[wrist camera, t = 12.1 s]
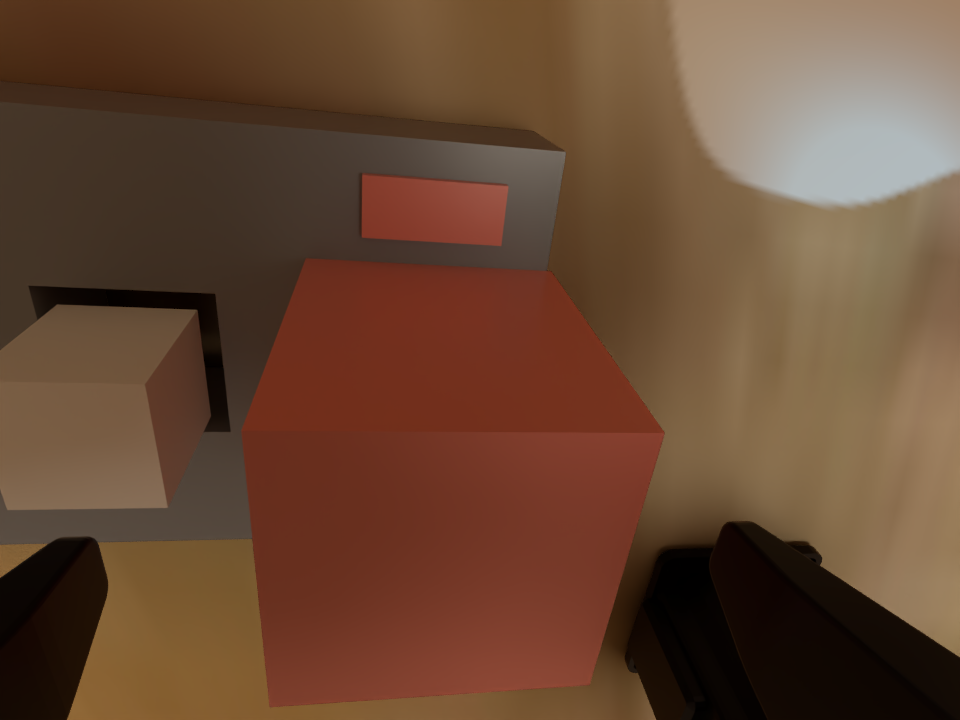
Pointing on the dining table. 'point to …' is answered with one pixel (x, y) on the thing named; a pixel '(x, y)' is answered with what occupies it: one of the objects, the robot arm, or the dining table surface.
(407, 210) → the breaker panel
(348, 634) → the cap
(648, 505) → the dining table surface
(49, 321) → the block
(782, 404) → the dining table surface
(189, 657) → the dining table surface
